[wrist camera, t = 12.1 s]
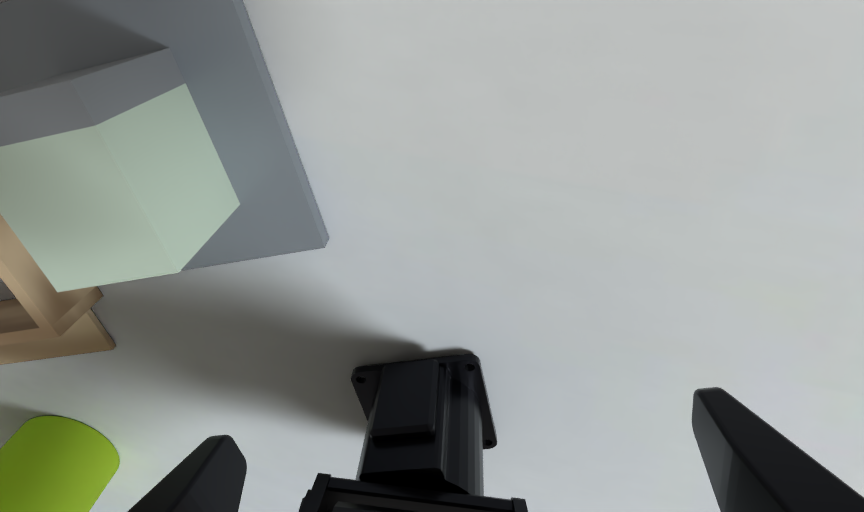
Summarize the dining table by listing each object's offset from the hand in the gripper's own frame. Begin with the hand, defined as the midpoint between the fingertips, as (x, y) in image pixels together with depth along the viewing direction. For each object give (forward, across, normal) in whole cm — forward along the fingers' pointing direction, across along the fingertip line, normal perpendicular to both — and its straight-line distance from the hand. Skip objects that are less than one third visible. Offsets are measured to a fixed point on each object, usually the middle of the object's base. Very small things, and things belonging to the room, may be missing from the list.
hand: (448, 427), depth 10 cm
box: (+11, +11, -4) cm, 16 cm away
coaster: (+12, +11, -4) cm, 17 cm away
